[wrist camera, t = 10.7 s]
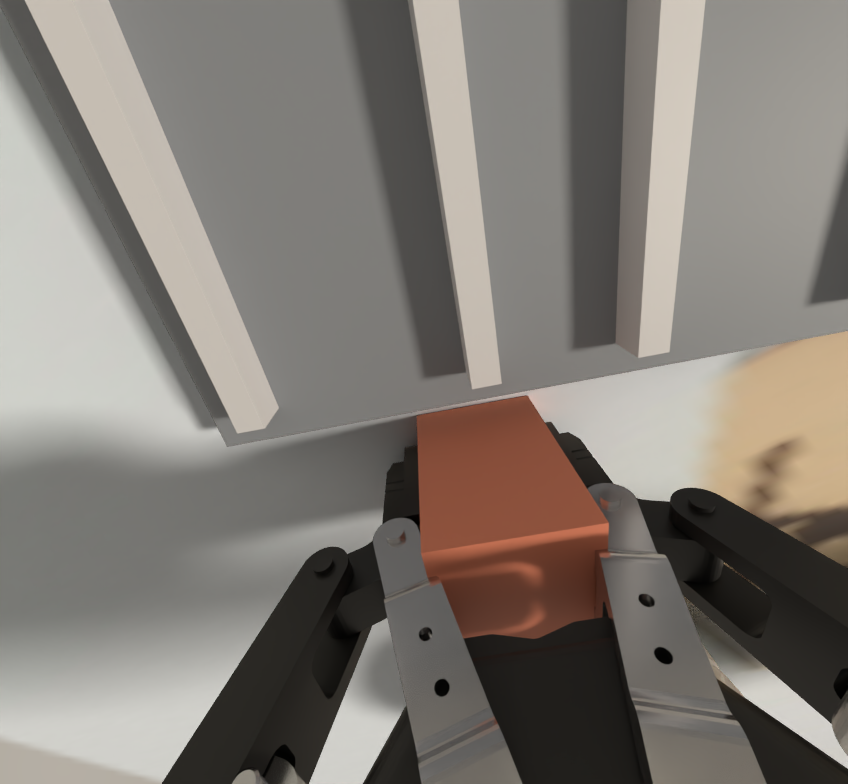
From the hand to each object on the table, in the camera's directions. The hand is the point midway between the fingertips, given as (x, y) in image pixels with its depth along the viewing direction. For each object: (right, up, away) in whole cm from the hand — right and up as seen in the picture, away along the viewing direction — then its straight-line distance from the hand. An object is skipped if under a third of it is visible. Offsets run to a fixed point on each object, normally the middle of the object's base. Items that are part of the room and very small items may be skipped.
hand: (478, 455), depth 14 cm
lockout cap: (0, 0, 0) cm, 0 cm away
